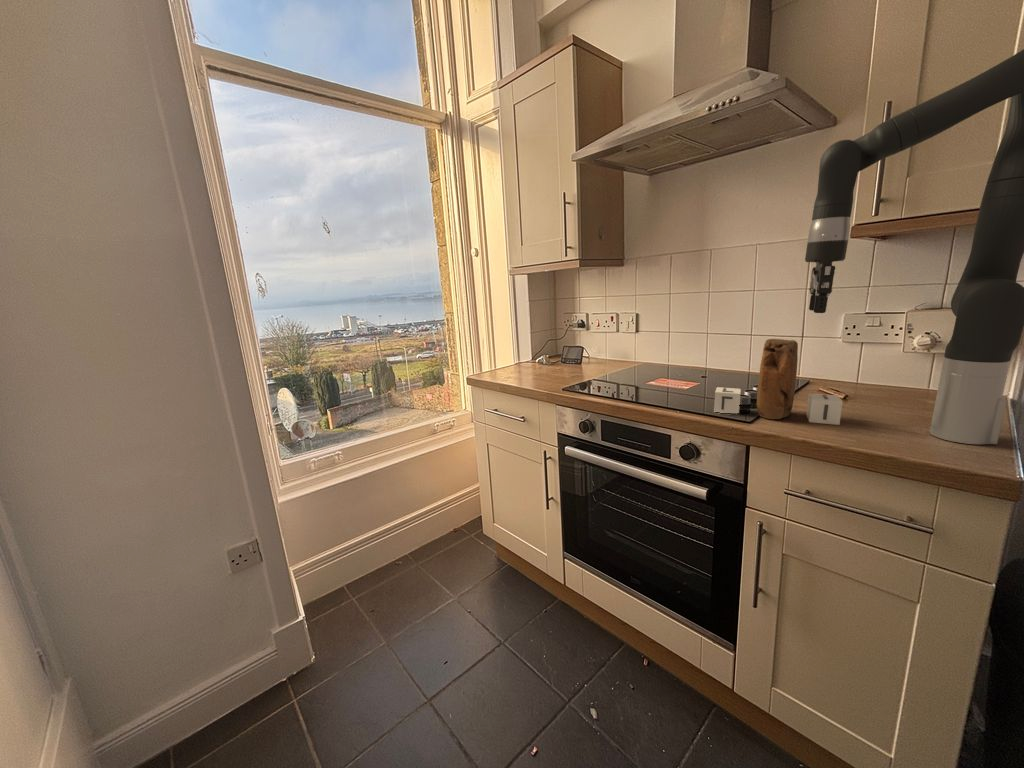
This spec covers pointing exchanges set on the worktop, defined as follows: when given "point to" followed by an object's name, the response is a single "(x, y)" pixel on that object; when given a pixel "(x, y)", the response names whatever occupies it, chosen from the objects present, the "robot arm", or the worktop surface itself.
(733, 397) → the cube seven
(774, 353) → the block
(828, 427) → the worktop surface
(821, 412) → the cube one
